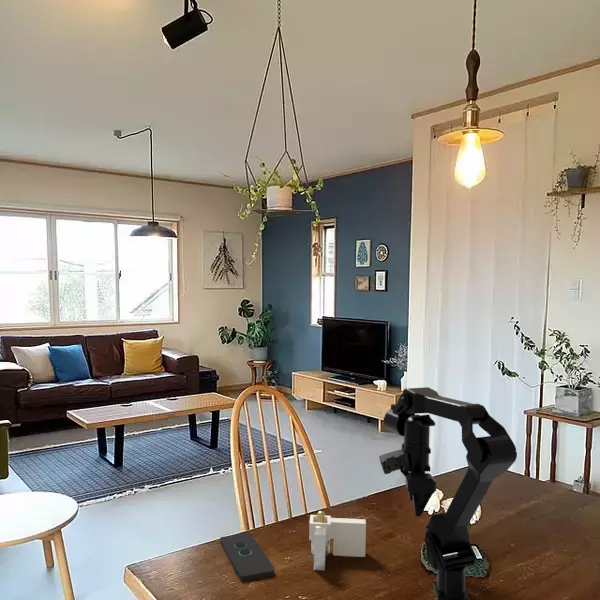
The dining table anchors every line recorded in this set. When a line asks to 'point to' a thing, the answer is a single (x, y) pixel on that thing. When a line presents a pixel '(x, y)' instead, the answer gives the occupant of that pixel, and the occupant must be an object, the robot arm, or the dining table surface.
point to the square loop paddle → (342, 534)
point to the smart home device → (246, 557)
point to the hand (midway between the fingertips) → (415, 508)
